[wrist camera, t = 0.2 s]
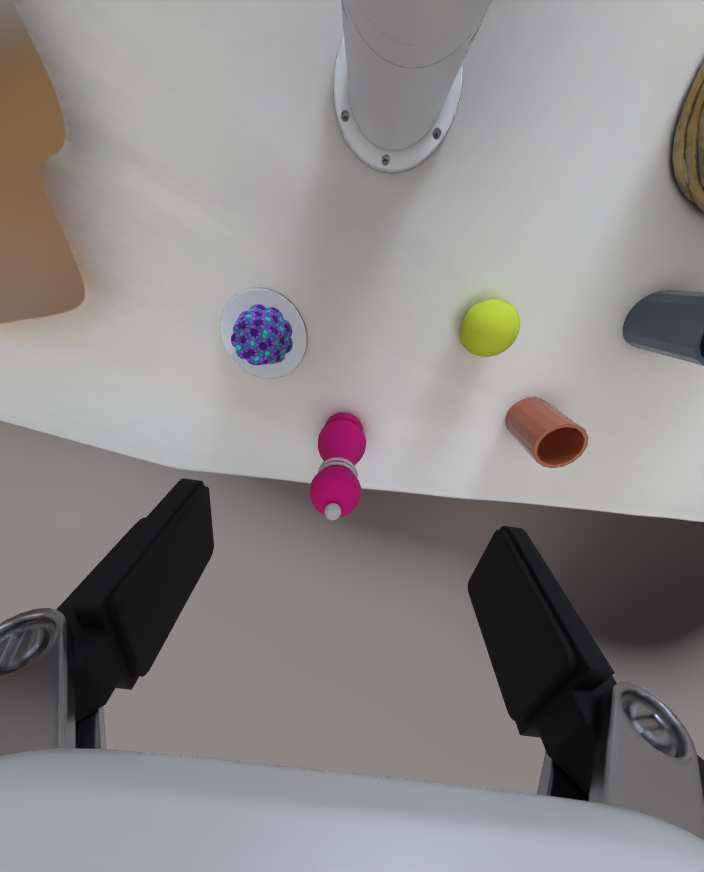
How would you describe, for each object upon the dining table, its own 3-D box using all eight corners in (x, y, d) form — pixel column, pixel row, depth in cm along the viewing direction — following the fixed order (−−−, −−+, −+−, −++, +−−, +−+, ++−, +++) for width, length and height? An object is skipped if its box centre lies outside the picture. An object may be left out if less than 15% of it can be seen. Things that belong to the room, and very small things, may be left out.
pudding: (255, 389, 46) (243, 402, 42) (204, 315, 41) (184, 320, 37) (323, 354, 43) (318, 364, 39) (276, 269, 38) (264, 269, 34)
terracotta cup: (515, 394, 45) (547, 420, 37) (557, 401, 45) (598, 428, 37) (498, 432, 48) (525, 464, 40) (538, 438, 48) (572, 471, 40)
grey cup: (643, 286, 38) (728, 290, 29) (695, 295, 38) (795, 302, 29) (612, 342, 41) (679, 361, 32) (660, 351, 41) (740, 371, 33)
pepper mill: (374, 433, 49) (380, 523, 31) (340, 456, 51) (327, 550, 34) (347, 401, 46) (336, 478, 29) (312, 425, 49) (283, 511, 31)
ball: (463, 293, 39) (481, 296, 33) (514, 301, 39) (541, 306, 33) (447, 345, 42) (461, 357, 36) (494, 353, 42) (516, 366, 36)
